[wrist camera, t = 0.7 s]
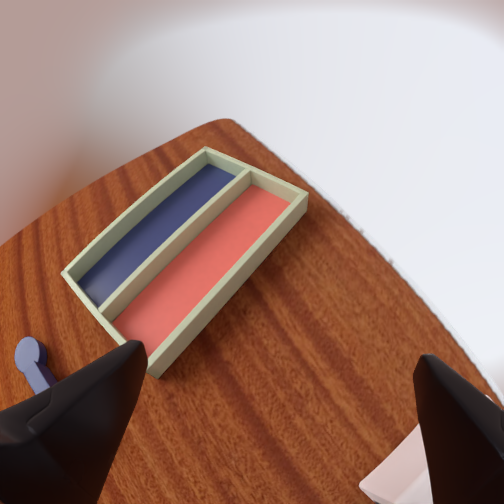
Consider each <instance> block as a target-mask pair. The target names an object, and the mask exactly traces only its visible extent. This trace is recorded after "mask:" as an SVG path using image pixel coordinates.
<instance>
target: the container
mask: <svg viewBox="0 0 504 504" xmlns="http://www.w3.org/2000/svg"><path fill="white" fill-rule="evenodd" d="M485 396H487V395H485ZM487 397H488V398H489V399H490V400H492V399H491V398H490V397H489V396H487ZM359 487H360V489H361V490H362V491H363V492H364V493H365V494H366V495H367V496H368V497H370V498H371V499H372V500H373V501H374V502H375V503H376V504H433V499H432V492H431V485H430V478H429V472H428V466H427V460H426V455H425V449H424V444H423V439H422V434H421V430H420V425H419V424H418V425H417V426H416V427H415V428H414V430H413V431H412V432H411V433H410V434H409V435H408V436H407V437H406V438H405V439H404V440H403V442H402V443H401V444H400V445H399V446H398V447H397V448H396V449H395V450H394V451H393V452H392V453H391V454H390V455H389V456H388V457H387V458H386V459H385V460H384V461H383V462H382V463H381V464H380V465H379V466H377V467H376V468H375V469H374V470H373V471H372V472H371V473H370V474H369V475H368V476H367V477H365V478H364V479H363V480H362V481H361V482H360V483H359Z"/></svg>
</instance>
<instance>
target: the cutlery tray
mask: <svg viewBox="0 0 504 504" xmlns="http://www.w3.org/2000/svg"><path fill="white" fill-rule="evenodd" d="M308 194H309V193H308V192H306V191H304V190H302V189H300V188H298V187H296V186H294V185H292V184H290V183H288V182H285V181H283V180H281V179H279V178H277V177H275V176H273V175H270V174H268V173H266V172H264V171H262V170H259V169H257V168H255V167H253V166H251V165H248V164H246V163H244V162H241V161H239V160H237V159H235V158H232V157H230V156H228V155H225V154H223V153H220V152H218V151H216V150H213V149H211V148H208V147H206V146H205V147H203V148H202V149H201V150H200V151H198V152H197V153H196V154H194V155H193V156H192V157H190V158H189V159H188V160H186V161H185V162H184V163H182V164H181V165H180V166H179V167H177V168H176V169H175V170H174V171H172V172H171V173H170V174H169V175H167V176H166V177H165V178H164V179H162V180H161V181H160V182H159V183H157V184H156V185H155V186H154V187H153V188H151V189H150V190H149V191H148V192H147V193H145V194H144V195H143V196H142V197H141V198H140V199H138V200H137V201H136V202H135V203H134V204H133V205H131V206H130V207H129V208H128V209H127V210H126V211H125V212H123V213H122V214H121V215H120V216H119V217H118V218H117V219H116V220H115V221H113V222H112V223H111V224H110V225H109V226H108V227H107V228H106V229H105V230H104V231H103V232H102V233H100V234H99V235H98V236H97V237H96V238H95V239H94V240H93V241H92V242H91V243H90V244H89V245H88V246H87V247H86V248H85V249H84V250H83V251H82V252H81V253H80V254H79V255H78V256H77V257H76V258H75V259H74V260H73V261H72V262H71V263H70V264H69V265H68V266H67V267H66V268H65V269H64V270H63V271H62V272H61V275H62V276H63V277H64V279H65V280H66V281H67V283H68V284H69V285H70V287H71V288H72V289H73V291H74V292H75V293H76V294H77V296H78V297H79V298H80V300H81V301H82V302H83V303H84V305H85V306H86V307H87V308H88V309H89V311H90V312H91V313H92V314H93V315H94V317H95V318H96V319H97V320H98V321H99V323H100V324H101V325H102V326H103V327H104V328H105V330H106V331H107V332H108V333H109V334H110V335H111V336H112V337H113V339H114V340H115V341H116V342H117V343H118V344H119V345H122V344H124V343H125V342H127V341H129V340H139V341H142V342H143V343H144V347H145V350H146V354H147V358H148V367H147V370H146V373H148V374H150V375H151V376H153V377H155V378H157V379H158V378H159V377H160V376H161V375H162V374H163V373H164V372H165V371H166V369H167V368H168V367H169V366H170V365H171V364H172V363H173V362H174V361H175V360H176V358H177V357H178V356H179V355H180V354H181V353H182V352H183V351H184V350H185V348H186V347H187V346H188V345H189V344H190V343H191V342H192V341H193V340H194V338H195V337H196V336H197V335H198V334H199V333H200V332H201V331H202V330H203V328H204V327H205V326H206V325H207V324H208V323H209V322H210V321H211V319H212V318H213V317H214V316H215V315H216V314H217V313H218V312H219V310H220V309H221V308H222V307H223V306H224V305H225V304H226V303H227V301H228V300H229V299H230V298H231V297H232V296H233V295H234V294H235V292H236V291H237V290H238V289H239V288H240V287H241V286H242V285H243V283H244V282H245V281H246V280H247V279H248V278H249V277H250V275H251V274H252V273H253V272H254V271H255V270H256V269H257V268H258V266H259V265H260V264H261V263H262V262H263V261H264V260H265V258H266V257H267V256H268V255H269V254H270V253H271V252H272V250H273V249H274V248H275V247H276V246H277V245H278V244H279V242H280V241H281V240H282V239H283V238H284V237H285V236H286V234H287V233H288V232H289V231H290V230H291V229H292V227H293V226H294V225H295V224H296V223H297V222H298V221H299V219H300V218H301V217H302V216H303V215H304V214H305V212H306V211H307V205H308Z"/></svg>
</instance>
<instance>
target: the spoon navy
mask: <svg viewBox="0 0 504 504" xmlns="http://www.w3.org/2000/svg"><path fill="white" fill-rule="evenodd" d="M46 362H47V351H46V348H45V346H44V345H43V344H42V343H41V342H40V341H38V340H36V339H35V338H33V337H25V338H23V339H22V340H21V341H20V342H19V343H18V345H17V347H16V350H15V364H16V366H17V368H18V369H19V371H21V372H22V373H24V375H25V377H26V379H27V381H28V382H29V384H30V386H31V388H32V389H33V391H34V393H35V394H38V393H40V392H42V391H44V390H45V389H47V388H49V387H52V386H53V385H54V384H56V383H57V380H56V379H55V377H54V376H53V374H52V373H51V371H50V369H49V368H48V367H46Z"/></svg>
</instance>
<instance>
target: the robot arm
mask: <svg viewBox="0 0 504 504" xmlns="http://www.w3.org/2000/svg"><path fill="white" fill-rule="evenodd" d="M147 367H148V358H147V354H146V350H145V347H144V343H143V342H142V341H139V340H129V341H127V342H125V343H124V344H122V345H120V346H119V347H117V348H115V349H114V350H112V351H110V352H109V353H107V354H105V355H104V356H102V357H100V358H98V359H97V360H95V361H93V362H92V363H90V364H88V365H87V366H85V367H83V368H81V369H80V370H78V371H76V372H75V373H73V374H71V375H70V376H68V377H66V378H64V379H63V380H61V381H59V382H57V383H56V384H54V385H53V386H52V387H49V388H47V389H45V390H44V391H42V392H40V393H38V394H36V395H35V396H33V397H31V398H29V399H27V400H25V401H22V402H20V403H18V404H16V405H14V406H12V407H9V408H7V409H5V410H3V411H0V504H97V501H98V499H99V497H100V494H101V491H102V489H103V486H104V483H105V481H106V478H107V475H108V473H109V470H110V468H111V465H112V463H113V460H114V457H115V455H116V452H117V450H118V447H119V445H120V442H121V440H122V437H123V435H124V433H125V430H126V428H127V425H128V423H129V420H130V418H131V416H132V413H133V411H134V408H135V406H136V403H137V400H138V397H139V394H140V390H141V387H142V383H143V380H144V377H145V373H146V370H147ZM413 383H414V390H415V398H416V406H417V414H418V420H419V425H420V430H421V434H422V439H423V444H424V449H425V455H426V460H427V466H428V472H429V478H430V485H431V492H432V499H433V504H504V410H501V408H500V407H499V406H498V405H496V404H495V403H494V402H493V401H492V400H490V399H489V398H488V397H487V396H485V395H484V394H483V393H482V392H481V391H479V390H478V389H477V388H476V387H474V386H473V385H472V384H471V383H469V382H468V381H467V380H466V379H464V378H463V377H462V376H461V375H459V374H458V373H457V372H456V371H454V370H453V369H452V368H451V367H449V366H448V365H447V364H446V363H444V362H443V361H442V360H441V359H439V358H438V357H437V356H435V355H434V354H423V355H421V356H420V358H419V361H418V363H417V365H416V368H415V370H414V373H413Z"/></svg>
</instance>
